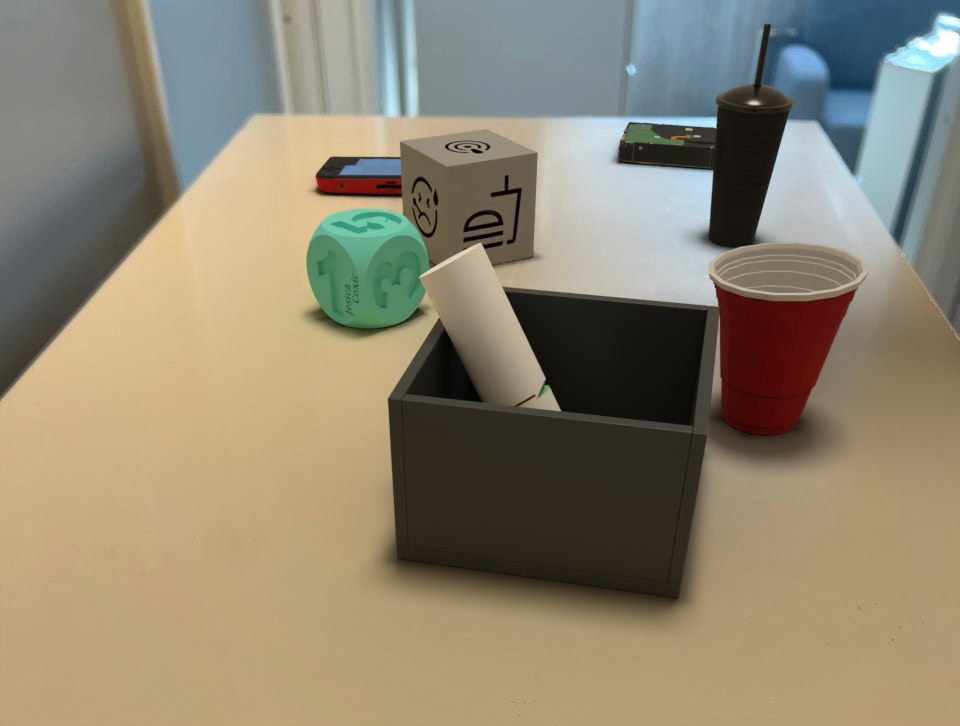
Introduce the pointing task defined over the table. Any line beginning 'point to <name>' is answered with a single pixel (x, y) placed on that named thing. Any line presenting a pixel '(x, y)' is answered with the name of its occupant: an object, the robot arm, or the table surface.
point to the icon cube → (470, 194)
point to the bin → (561, 446)
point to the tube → (486, 331)
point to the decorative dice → (367, 267)
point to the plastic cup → (778, 327)
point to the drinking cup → (745, 154)
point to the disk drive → (668, 145)
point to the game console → (360, 175)
